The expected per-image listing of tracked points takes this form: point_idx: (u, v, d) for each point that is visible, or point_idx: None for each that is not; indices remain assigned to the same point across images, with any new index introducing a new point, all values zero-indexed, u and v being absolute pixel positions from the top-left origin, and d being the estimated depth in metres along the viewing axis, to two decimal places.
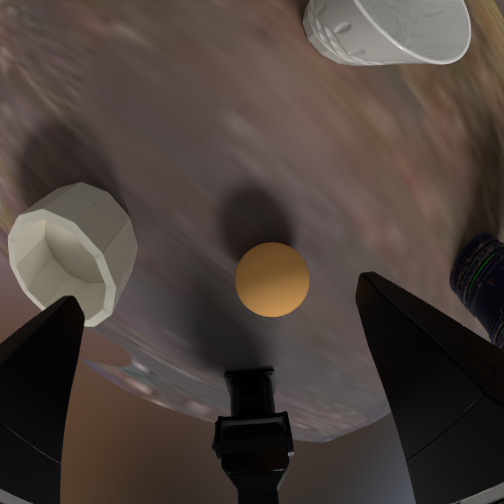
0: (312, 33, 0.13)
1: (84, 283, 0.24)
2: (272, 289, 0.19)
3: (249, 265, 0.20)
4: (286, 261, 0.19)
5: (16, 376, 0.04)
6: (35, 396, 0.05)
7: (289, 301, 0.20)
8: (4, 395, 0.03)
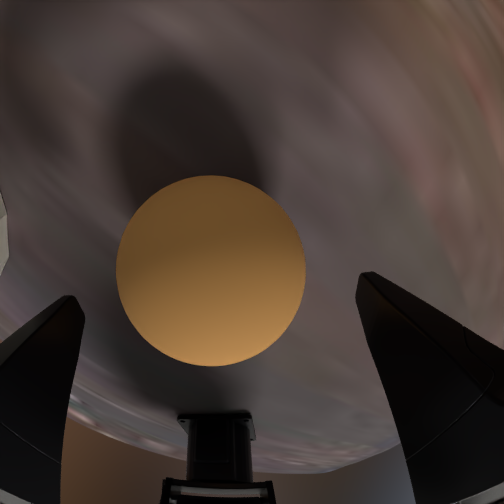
0: None
1: None
2: (181, 298, 0.06)
3: (132, 227, 0.07)
4: (229, 212, 0.06)
5: (16, 375, 0.04)
6: (35, 396, 0.05)
7: (241, 335, 0.06)
8: (4, 395, 0.03)
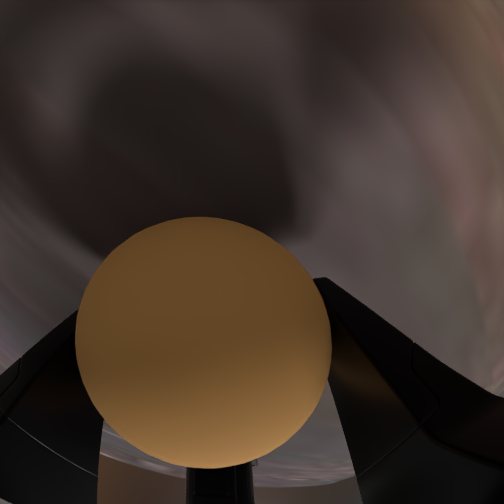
0: None
1: None
2: (159, 427, 0.03)
3: (85, 306, 0.04)
4: (225, 303, 0.04)
5: (51, 385, 0.04)
6: (72, 406, 0.05)
7: (246, 456, 0.04)
8: (39, 408, 0.04)
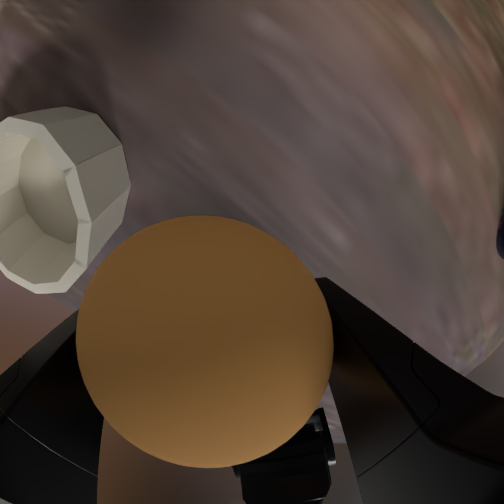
0: None
1: (62, 243, 0.17)
2: (160, 427, 0.03)
3: (86, 304, 0.04)
4: (227, 300, 0.04)
5: (51, 385, 0.04)
6: (72, 406, 0.05)
7: (248, 455, 0.04)
8: (39, 409, 0.04)
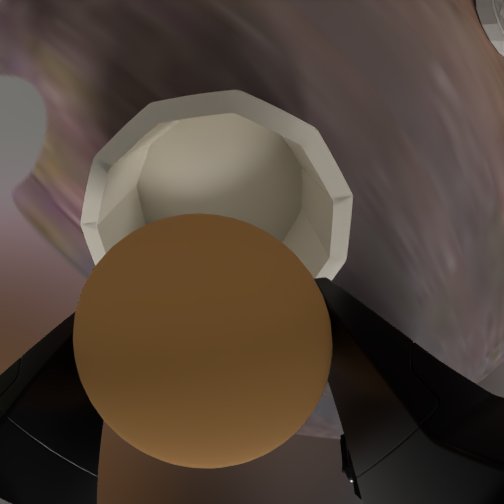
0: (495, 22, 0.07)
1: None
2: (156, 426, 0.03)
3: (83, 303, 0.04)
4: (223, 299, 0.04)
5: (51, 385, 0.04)
6: (72, 406, 0.05)
7: (246, 456, 0.04)
8: (39, 409, 0.04)
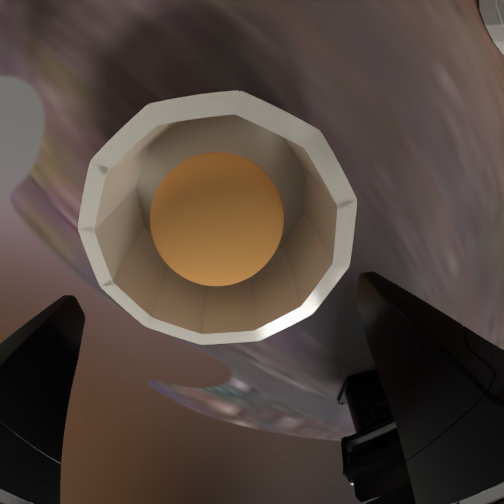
0: (498, 23, 0.06)
1: None
2: (200, 220, 0.09)
3: (165, 182, 0.10)
4: (231, 170, 0.10)
5: (16, 376, 0.04)
6: (35, 396, 0.05)
7: (238, 248, 0.10)
8: (4, 395, 0.03)
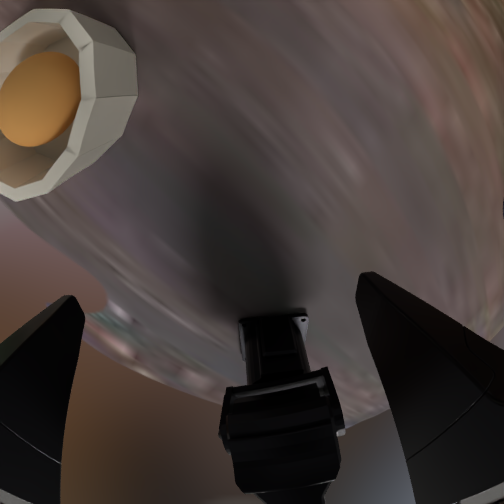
0: None
1: (53, 161, 0.15)
2: (7, 85, 0.07)
3: None
4: (35, 56, 0.08)
5: (16, 376, 0.04)
6: (35, 396, 0.05)
7: (21, 97, 0.08)
8: (4, 395, 0.03)
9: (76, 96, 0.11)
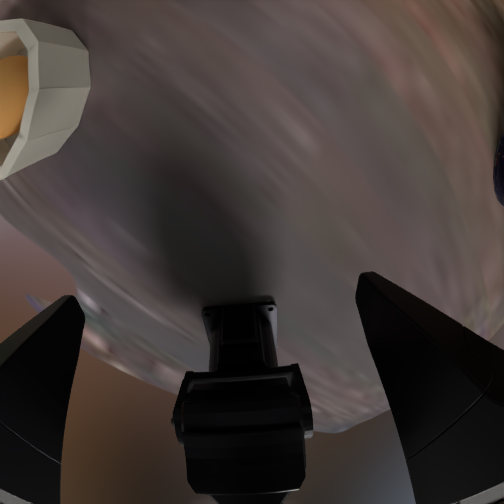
0: None
1: None
2: None
3: None
4: (1, 60, 0.07)
5: (16, 376, 0.04)
6: (35, 396, 0.05)
7: None
8: (4, 395, 0.03)
9: None
